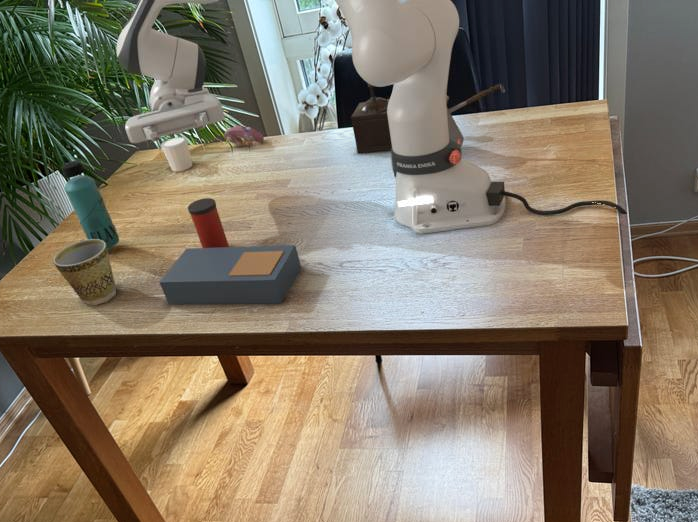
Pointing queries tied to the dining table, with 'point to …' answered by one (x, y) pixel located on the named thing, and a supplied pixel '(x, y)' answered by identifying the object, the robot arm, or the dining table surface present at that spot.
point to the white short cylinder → (177, 153)
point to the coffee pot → (452, 126)
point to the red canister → (208, 223)
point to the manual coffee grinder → (372, 125)
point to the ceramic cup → (87, 270)
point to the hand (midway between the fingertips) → (177, 131)
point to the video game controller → (243, 135)
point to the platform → (232, 275)
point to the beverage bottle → (89, 205)
